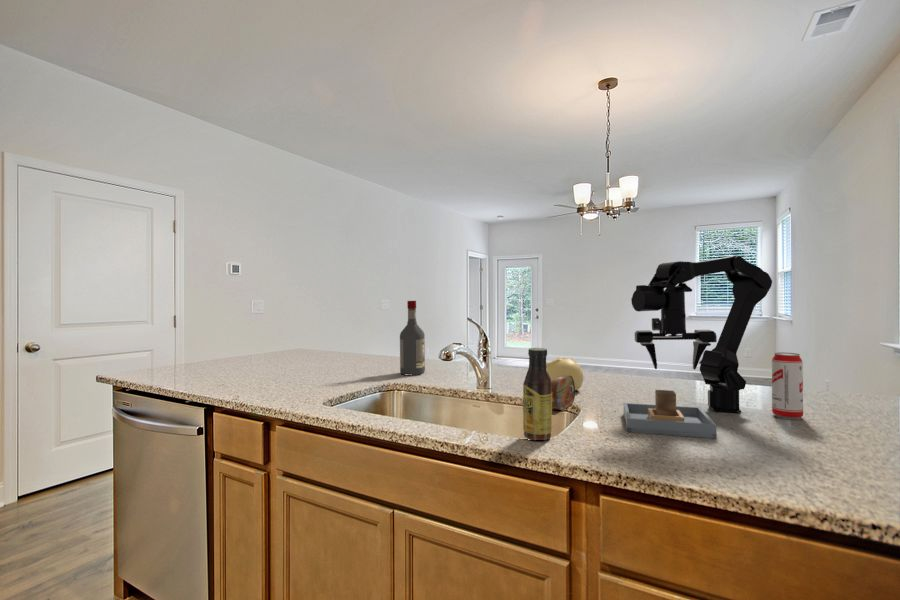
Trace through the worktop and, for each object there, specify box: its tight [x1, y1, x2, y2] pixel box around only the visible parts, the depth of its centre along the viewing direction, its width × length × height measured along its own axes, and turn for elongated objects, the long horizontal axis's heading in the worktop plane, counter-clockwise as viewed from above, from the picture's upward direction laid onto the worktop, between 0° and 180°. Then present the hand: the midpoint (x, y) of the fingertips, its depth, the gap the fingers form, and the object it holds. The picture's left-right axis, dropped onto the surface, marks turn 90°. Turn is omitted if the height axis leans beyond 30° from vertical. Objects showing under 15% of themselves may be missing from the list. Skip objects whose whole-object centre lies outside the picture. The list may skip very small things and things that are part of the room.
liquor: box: [399, 300, 426, 376], centre depth 184 cm, size 9×9×30 cm
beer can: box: [771, 351, 804, 421], centre depth 113 cm, size 6×6×16 cm
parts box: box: [623, 402, 718, 440], centre depth 107 cm, size 18×16×3 cm
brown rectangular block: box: [654, 389, 677, 416], centre depth 107 cm, size 4×4×7 cm
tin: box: [551, 375, 576, 411], centre depth 127 cm, size 15×3×8 cm, turn 146°
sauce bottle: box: [522, 347, 553, 441], centre depth 99 cm, size 7×6×20 cm
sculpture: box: [546, 357, 584, 391], centre depth 149 cm, size 12×12×11 cm
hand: (674, 369), depth 118 cm, fingers open, 9 cm apart
